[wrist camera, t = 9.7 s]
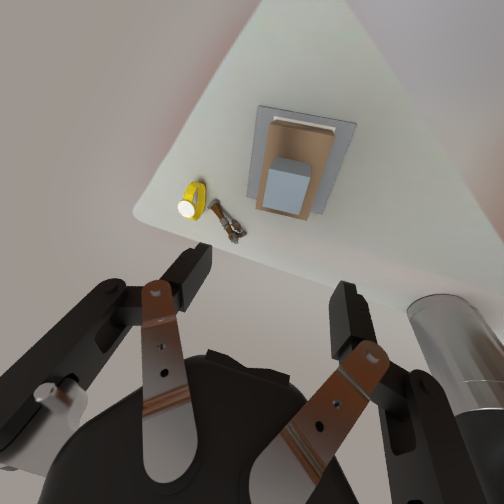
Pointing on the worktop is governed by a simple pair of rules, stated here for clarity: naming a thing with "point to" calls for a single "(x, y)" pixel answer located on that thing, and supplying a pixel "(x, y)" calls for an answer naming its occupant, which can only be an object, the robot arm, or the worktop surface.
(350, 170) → the worktop surface
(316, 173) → the walnut block
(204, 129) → the worktop surface
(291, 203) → the gray block
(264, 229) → the worktop surface
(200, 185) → the watch
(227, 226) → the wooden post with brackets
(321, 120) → the build pad
